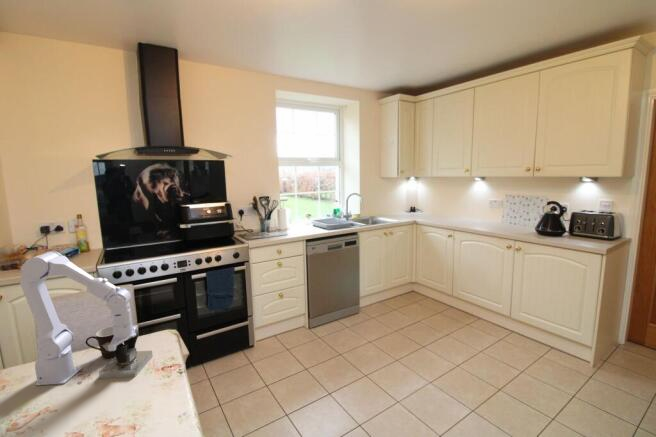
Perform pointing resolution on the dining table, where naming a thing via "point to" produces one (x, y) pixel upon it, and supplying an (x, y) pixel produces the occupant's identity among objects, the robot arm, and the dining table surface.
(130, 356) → the plug
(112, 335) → the coffee mug
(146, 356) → the socket
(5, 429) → the dining table surface
